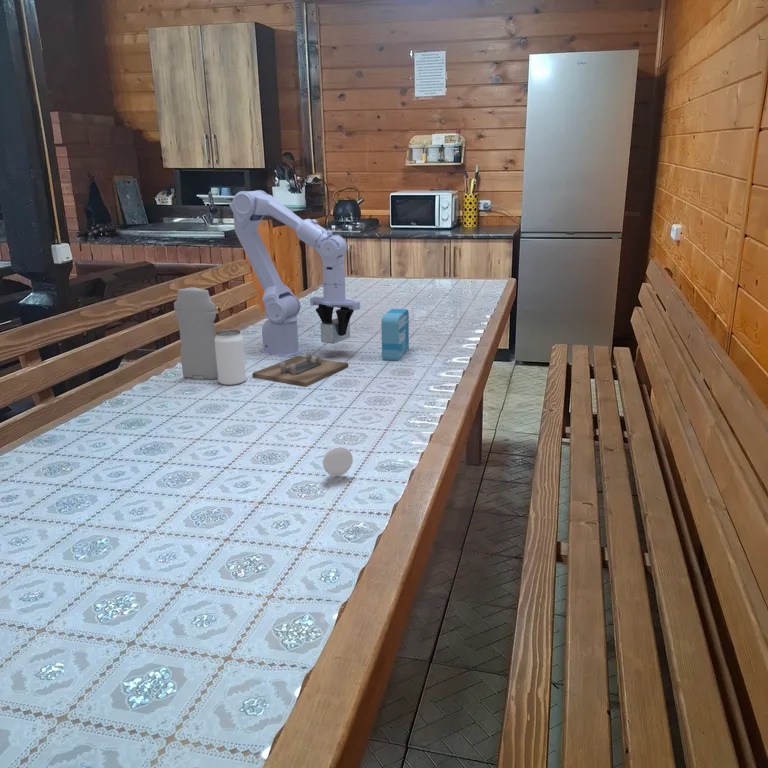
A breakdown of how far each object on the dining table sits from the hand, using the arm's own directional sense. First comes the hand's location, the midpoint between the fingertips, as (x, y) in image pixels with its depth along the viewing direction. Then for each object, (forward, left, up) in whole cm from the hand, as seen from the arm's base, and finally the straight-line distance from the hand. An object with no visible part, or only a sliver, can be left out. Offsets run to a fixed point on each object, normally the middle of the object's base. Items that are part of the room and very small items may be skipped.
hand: (335, 334), depth 180 cm
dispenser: (-18, -32, -6) cm, 37 cm away
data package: (+15, +7, -6) cm, 17 cm away
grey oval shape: (+41, -61, -6) cm, 74 cm away
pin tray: (+1, -17, -6) cm, 18 cm away
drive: (0, 0, -2) cm, 2 cm away
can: (-9, -31, -6) cm, 33 cm away
